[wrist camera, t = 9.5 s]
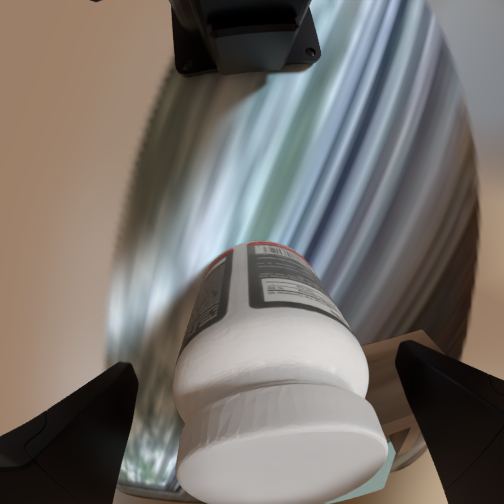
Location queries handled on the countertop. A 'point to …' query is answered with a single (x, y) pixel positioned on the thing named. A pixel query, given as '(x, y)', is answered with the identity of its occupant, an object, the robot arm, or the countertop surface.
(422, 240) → the countertop surface
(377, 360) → the wooden open crate
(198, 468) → the pill bottle
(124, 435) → the robot arm
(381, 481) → the pale green rectangular panel
